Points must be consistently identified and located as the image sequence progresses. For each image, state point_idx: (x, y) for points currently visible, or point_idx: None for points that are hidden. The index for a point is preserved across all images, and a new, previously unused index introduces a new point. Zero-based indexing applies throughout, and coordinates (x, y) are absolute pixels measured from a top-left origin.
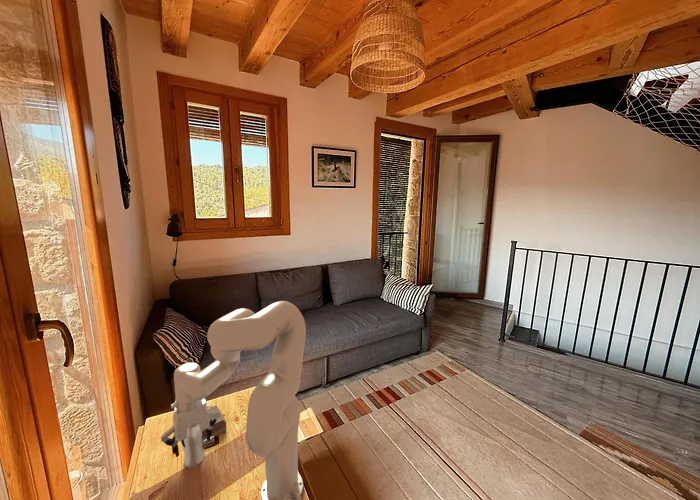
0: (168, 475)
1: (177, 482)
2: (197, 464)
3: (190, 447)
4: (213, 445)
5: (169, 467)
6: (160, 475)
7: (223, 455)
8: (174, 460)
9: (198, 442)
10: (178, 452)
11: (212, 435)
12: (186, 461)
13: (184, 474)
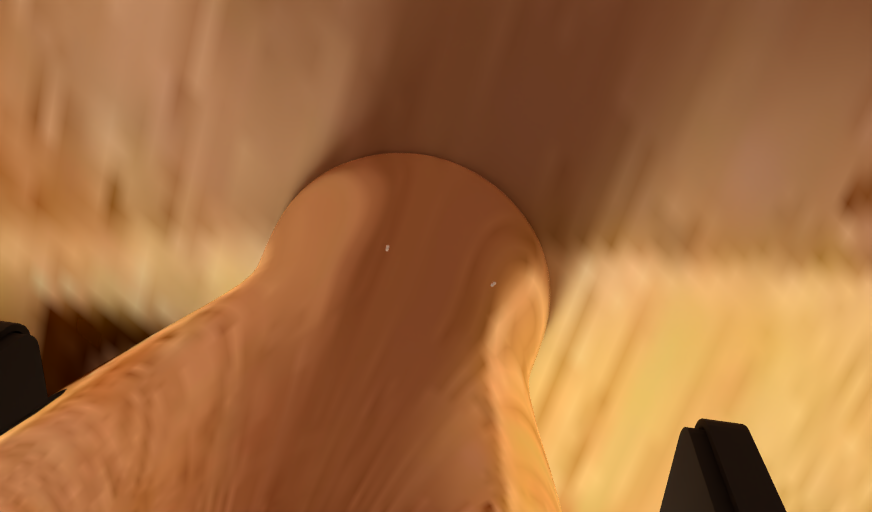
0: (790, 294)
1: (760, 55)
2: (397, 154)
3: (419, 380)
4: (121, 324)
5: (715, 413)
6: (866, 377)
7: (19, 27)
8: (618, 470)
9: (145, 363)
10: (713, 489)
11: None
12: (529, 290)
13: (614, 130)
